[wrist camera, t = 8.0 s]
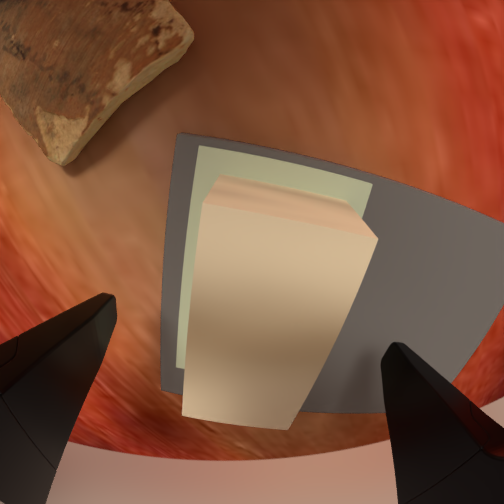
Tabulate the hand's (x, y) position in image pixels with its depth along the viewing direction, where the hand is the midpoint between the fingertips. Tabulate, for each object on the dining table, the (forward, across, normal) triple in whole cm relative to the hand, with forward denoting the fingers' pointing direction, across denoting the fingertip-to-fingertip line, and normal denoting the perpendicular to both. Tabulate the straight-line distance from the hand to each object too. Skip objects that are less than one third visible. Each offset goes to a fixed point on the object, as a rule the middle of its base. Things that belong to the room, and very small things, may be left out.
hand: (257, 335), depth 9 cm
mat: (+3, -4, +1) cm, 5 cm away
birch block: (+2, 0, 0) cm, 2 cm away
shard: (+4, +10, -7) cm, 13 cm away
